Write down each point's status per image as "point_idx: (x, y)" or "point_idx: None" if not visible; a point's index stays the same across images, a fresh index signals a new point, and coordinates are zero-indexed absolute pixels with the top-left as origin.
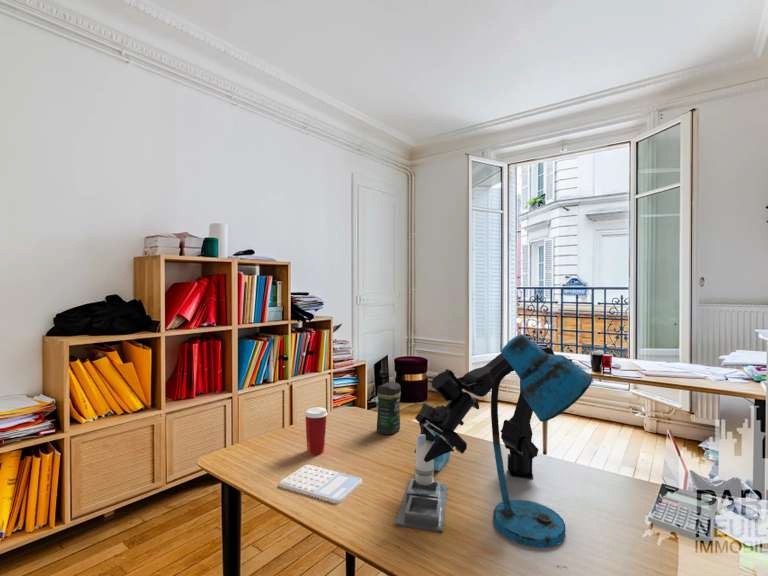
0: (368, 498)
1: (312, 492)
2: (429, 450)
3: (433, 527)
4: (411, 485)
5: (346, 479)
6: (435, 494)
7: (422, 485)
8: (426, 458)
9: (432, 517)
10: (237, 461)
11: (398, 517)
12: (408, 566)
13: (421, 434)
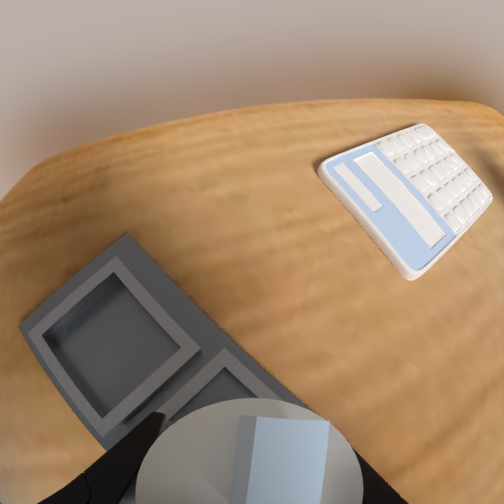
0: (308, 248)
1: (372, 141)
2: (128, 470)
3: (39, 313)
4: None
5: (421, 236)
6: None
7: None
8: (141, 425)
9: (44, 320)
10: (498, 132)
11: (142, 256)
12: (19, 187)
13: (318, 502)
